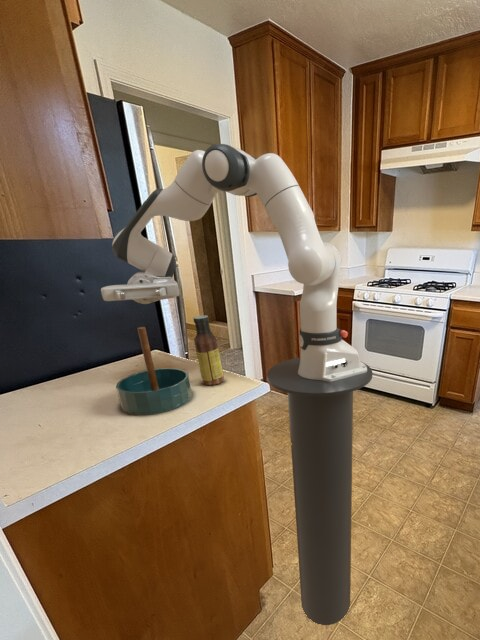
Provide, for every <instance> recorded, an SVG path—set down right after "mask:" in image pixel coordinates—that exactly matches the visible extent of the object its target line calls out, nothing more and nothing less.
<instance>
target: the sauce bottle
mask: <svg viewBox="0 0 480 640" xmlns="http://www.w3.org/2000/svg"><path fill="white" fill-rule="evenodd" d="M192 319H193V323H194V326H195V329H196V330H195V332H196V335H195V337H194V340H193V341H194V342H193V343H194V347H195V352H196V358H197V362H198V367H199V372H200V375H201V377H200V378H201V380H202V383H203V384H204V385H206V386H216V385H219V384H221V383H223V381H224V380H225V379H224V373H223V372H224V370H223V365H222V360H221V355H220V349H219V346H218V342H217V338H216V337H215V335H214V334H213V332H212V331H211V327H210V317H209V316H208V315H196V316H194V317H193V318H192Z"/></svg>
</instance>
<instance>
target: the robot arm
mask: <svg viewBox="0 0 480 640" xmlns="http://www.w3.org/2000/svg"><path fill="white" fill-rule="evenodd" d="M219 192H226V193H228V194H231V195H234V196H238V197H246V198H250V197H251V198H252V197H256V196H258V197H259V199H260V201H261V203H262V205H263V207H264V209H265V210H266V212H267V215H268V216H269V218H270V220H271V222H272V224H273V225H274V228H275V229H276V231H277V233H278V234H279V237H280V240H281V242H282V245H283V248H284V252H285V255H286V257H287V261H288V262H287V267H288V271H289V275H290V276H291V277H292V279H293V280H294V281H296V282H297V283H298V284H302V286H303V287H302V293H301V298H300V301H299V320H300V321H299V322H300V329H299V335H298V336H299V347H300V364H299V369H298V374H299V375H300V376H301V377H304V378H307V379H313V380H322V381H326V382H332V381H336V380H340V379H344V378H347V377H351V376H355V375H358V374H362V373H366V372H367V367H366V365H367V364H366V363H365V364H366V365H365V364H363V363H364V362H363V361H361V358H360V354H359V352H358V350H357V349H356V348H355V347H353V346H352V345H351V344H350V343H348V342H346V341H345V340H344V339H343V338H345V339H346V338H347V337H348V336H349V332H348V331H346V330H345V329H340V328H338V326H337V325H338V324H337V323H338V322H337V321H338V320H337V319H338V317H337V312H338V311H337V308H338V307H337V303H338V302H337V301H338V293H339V285H340V276H341V275H340V274H341V264H342V257H341V253H340V251H339V250H338V248H336V246H334V245H333V244H332V243H330V242H327V241H323V239H322V237H321V235H320V232H319V229H318V226H317V223H316V220H315V214H314V211H313V210H312V208H311V205H310V204H309V202H308V200H307V198H306V196H305V194H304V192H303V191H302V189H301V187H300V184H299V183H298V181H297V179H296V177H295V176H294V173H292V171H291V170H290V168H289V167H288V165H287V164H286V162H285V161H284V160H283V158H282V157H281V156H280V155H278V154H277V153H273V152H269V153H264V154H262V155H260V156H259V157H258V158H256V157H254V156H252V155H251V154H248V153H247V152H246V151H244V150H243V149H240V148H237V147H234V146H232V145H229V144H226V143H216V144H212V145H210V146H209V147H208V148H206V150H202V149H196V150H193V151H192V152H191V153H190V154H189V156H188V157H187V158H186V159H185V161H184V162H183V163H182V165H181V167H180V168H179V170H178V172H177V174H176V175H175V177H174V179H173V181H172V182H171V184H170V185H168V186H166V187H165V188H160V187H157V188H156V189H155V190H153V191H152V192H151V193H150V194H149V196H148V197H147V198H146V200H144V201H143V202H142V204H141V205H140V207H139V208H138V209H137V211H136V212H135V213H134V215H133V216H132V217H131V219H130V220H129V221H128V223H127V224H126V226H124V227H123V228H122V229H121V230H120V231H119V232H118V233H117V234H116V235H115V236H114V238H113V240H112V243H111V249H112V252H113V254H114V256H115V257H116V259H117V260H119V261H121V262H123V263H126V264H128V265H131V266H133V267H135V269H138V270H140V271H138V272H135V273H134V274H133V275H132V276H131V277H130V278H129V279H128V281H127V284H113V285H112V284H111V285H106V286H103V287H101V288H100V292H101V297H102V300H103V301H104V302H117V301H118V302H119V301H129V300H131V301H134V302H136V303H138V304H142V305H148V304H152V303H155V302H158V301H162V300H169V299H174V298H176V297H180V295H181V293H180V290H179V284H178V282H177V281H176V280H175V279H173V276H174V274H175V273H176V272H175V271H176V269H177V260H176V257H175V254H173V253H172V252H170V251H169V250H167V249H165V248H164V247H162V246H160V245H158V244H157V243H155V242H153V241H151V240H150V239H148V238H147V237H144V236H143V235H142V232H143V230H144V229H145V227H146V226H147V225H148V224H149V223H150V221H151V220H152V219H153V218H154V217H157V216H159V217H161V216H162V217H167V218H172V219H175V220H179V221H182V222H183V221H184V222H195V221H198V220H200V219H202V218H203V217H204V216H205V214H206V213H207V211H209V209H210V207H211V205H212V203H213V201H214V200H215V197H216V195H218V193H219ZM360 361H361V362H360ZM362 362H363V363H362Z"/></svg>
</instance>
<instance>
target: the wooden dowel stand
mask: <svg viewBox="0 0 480 640" xmlns="http://www.w3.org/2000/svg"><path fill="white" fill-rule="evenodd" d="M137 333H138V338H139V342H140V346H141V351H142V355H143V360H144V364H145V368H146V371H147V373H148V377H149V381H150V386H151V390H152V391H154V390H159V387H158V383H157V378H156V374H155V369H156V368H155V365H154V360H153V357H152V351H151V347H150V343H149V338H148V334H147V329H146V327H145V326H139V327H137Z"/></svg>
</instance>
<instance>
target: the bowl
mask: <svg viewBox="0 0 480 640" xmlns="http://www.w3.org/2000/svg"><path fill="white" fill-rule="evenodd" d="M154 369H155V374H156V378H157V383H158V387H159V390H154V391H152V390H151V386H150V381H149V377H148V373H147V370H144V371H138V372H136V373H133V374H130V375H127V376H126V377H123V378H121V379H120V380H119V381H117V383H116V386H115V389H116V393H117V396H118V401H119V403H120V406H121V409H122V411H123V412H125V413H126V414H129V415H137V416H148V415H149V416H150V415H157V414H161V413H166V412H170V411H172V410H175V409H178V408H180V407H182V406H184V405H186V403H188V402H189V401H190V400H191V398H192V397H193V396H192V395H193V394H192V388H191V383H190V382H191V381H190V378H189V372H187V371H186V370H184V369H180V368H173V367H167V368H165V367H164V368H163V367H162V368H154Z"/></svg>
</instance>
